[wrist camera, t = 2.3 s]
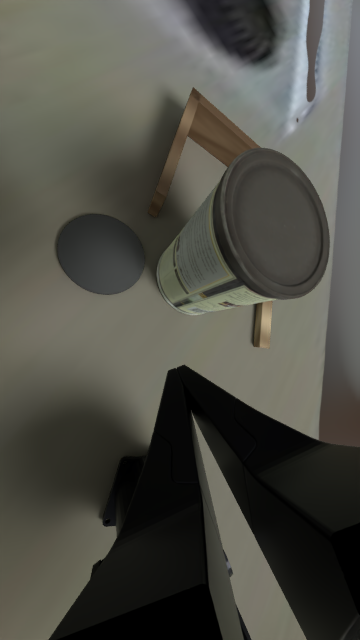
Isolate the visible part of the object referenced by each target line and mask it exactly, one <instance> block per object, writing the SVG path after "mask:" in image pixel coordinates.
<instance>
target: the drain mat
mask: <svg viewBox="0 0 360 640" xmlns="http://www.w3.org/2000/svg"><path fill="white" fill-rule="evenodd" d="M58 257H59V260H60V263H61V265H62V268H63V269H64V271H65V272H66V274H67V275H68V276H69V278H70V279H71V280H72V281H73V282H75V283H76V284H77V285H79V286H80V287H82V288H83V289H85V290H88V291H90V292H93V293H97V294H105V295H109V294H117V293H120V292H123V291H125V290H127V289H129V288H130V287H132V286H133V285H134V284H135V283H136V282H137V280H138V279H139V277H140V276H141V274H142V271H143V268H144V262H145V258H144V251H143V247H142V245H141V243H140V241H139V239H138V237H137V236H136V235H135V233H134V232H133V231H132V230H131V229H130V228H129V227H128V226H127V225H125V224H124V223H122V222H121V221H119V220H117V219H115V218H112V217H109V216H105V215H98V214H90V215H85V216H81V217H79V218H76V219H74V220H73V221H71V222H70V223H69V224H68V225H67V226H66V227H65V228H64V229H63V231H62V233H61V234H60V237H59V240H58Z"/></svg>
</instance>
